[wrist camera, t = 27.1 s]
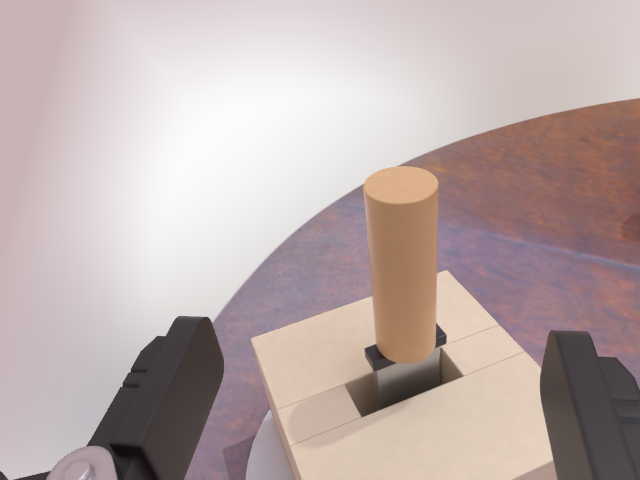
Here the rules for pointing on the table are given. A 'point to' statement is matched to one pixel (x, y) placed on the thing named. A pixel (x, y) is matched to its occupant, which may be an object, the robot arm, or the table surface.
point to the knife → (403, 282)
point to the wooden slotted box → (412, 414)
